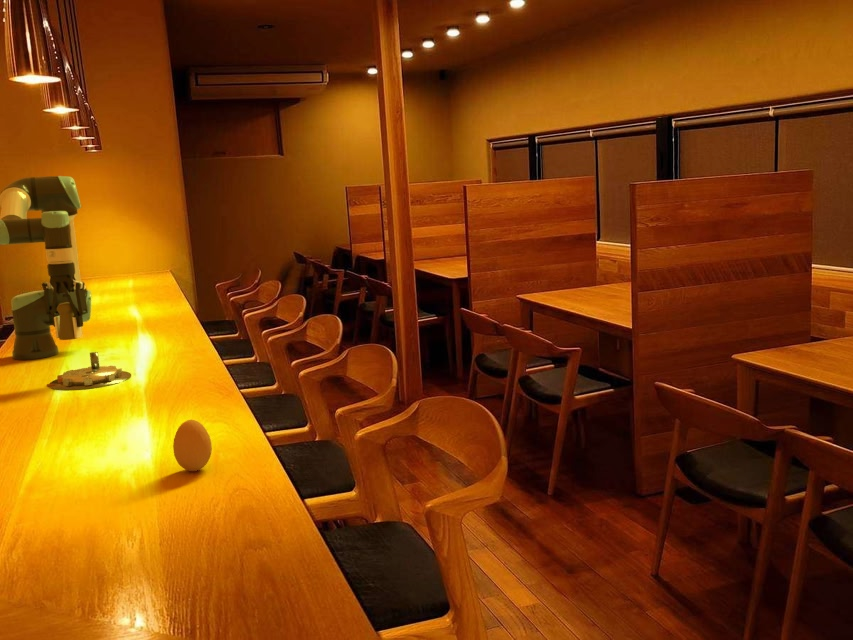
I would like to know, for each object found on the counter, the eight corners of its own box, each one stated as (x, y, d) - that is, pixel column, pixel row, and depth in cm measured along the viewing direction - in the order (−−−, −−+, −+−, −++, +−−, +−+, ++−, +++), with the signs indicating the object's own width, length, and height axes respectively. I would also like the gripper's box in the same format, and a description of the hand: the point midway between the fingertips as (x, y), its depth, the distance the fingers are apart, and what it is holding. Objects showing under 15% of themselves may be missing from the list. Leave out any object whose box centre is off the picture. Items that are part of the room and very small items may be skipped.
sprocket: (49, 388, 240) (46, 365, 238) (69, 373, 258) (66, 352, 257) (113, 383, 241) (110, 361, 240) (128, 369, 260) (126, 348, 259)
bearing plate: (30, 388, 242) (30, 387, 242) (84, 370, 264) (83, 368, 264) (98, 391, 235) (97, 389, 235) (146, 371, 258) (146, 370, 258)
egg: (198, 478, 160) (193, 427, 158) (167, 475, 163) (162, 424, 161) (221, 465, 167) (216, 416, 165) (191, 462, 170) (186, 413, 168)
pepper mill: (84, 336, 246) (80, 301, 244) (67, 340, 241) (63, 304, 239) (72, 335, 249) (68, 300, 247) (55, 339, 244) (50, 303, 242)
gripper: (25, 264, 240) (35, 339, 244) (78, 263, 235) (87, 340, 239) (43, 261, 247) (52, 334, 251) (95, 260, 242) (103, 335, 246)
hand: (69, 337), depth 245 cm, fingers closed on pepper mill, 6 cm apart
